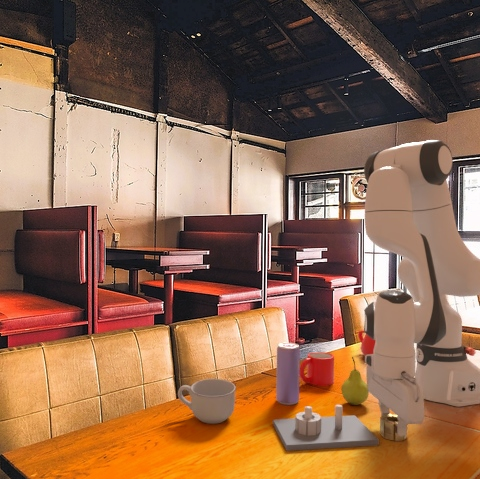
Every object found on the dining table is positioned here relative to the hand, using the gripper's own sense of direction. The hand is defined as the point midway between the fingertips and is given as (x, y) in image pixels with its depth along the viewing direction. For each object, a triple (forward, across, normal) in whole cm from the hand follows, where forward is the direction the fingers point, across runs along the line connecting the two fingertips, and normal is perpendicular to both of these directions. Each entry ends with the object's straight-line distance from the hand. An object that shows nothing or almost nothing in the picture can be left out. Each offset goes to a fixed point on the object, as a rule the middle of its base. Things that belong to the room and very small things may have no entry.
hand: (393, 427), depth 105 cm
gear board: (+2, +3, +15) cm, 16 cm away
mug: (+2, +37, +6) cm, 38 cm away
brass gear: (+2, 0, 0) cm, 2 cm away
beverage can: (+2, +23, +18) cm, 29 cm away
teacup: (+2, +15, +40) cm, 43 cm away
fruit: (+2, +19, +1) cm, 19 cm away
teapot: (+2, +58, -26) cm, 64 cm away
